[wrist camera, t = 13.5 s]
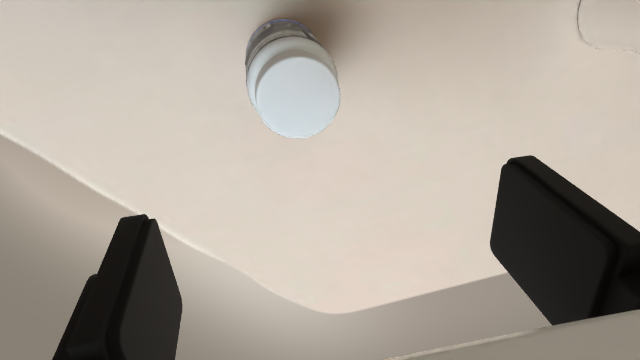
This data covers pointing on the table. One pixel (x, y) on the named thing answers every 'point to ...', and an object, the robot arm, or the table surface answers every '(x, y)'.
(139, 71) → the table surface
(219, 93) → the table surface
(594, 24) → the beer glass
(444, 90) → the table surface
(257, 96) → the pill bottle
